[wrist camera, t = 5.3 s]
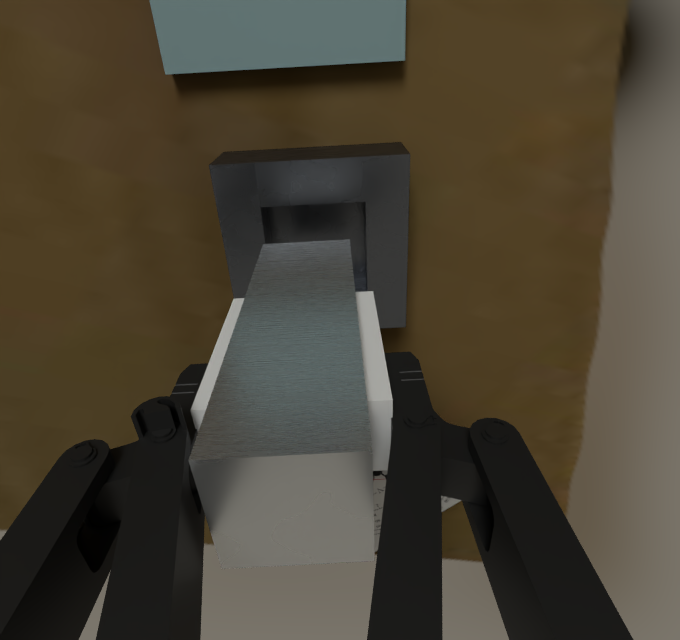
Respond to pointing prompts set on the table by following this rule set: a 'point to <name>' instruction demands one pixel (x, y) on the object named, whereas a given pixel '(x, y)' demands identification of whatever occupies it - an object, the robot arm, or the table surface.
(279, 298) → the long steel block
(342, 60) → the slate mat
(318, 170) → the socket block
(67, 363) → the table surface
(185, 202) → the table surface
